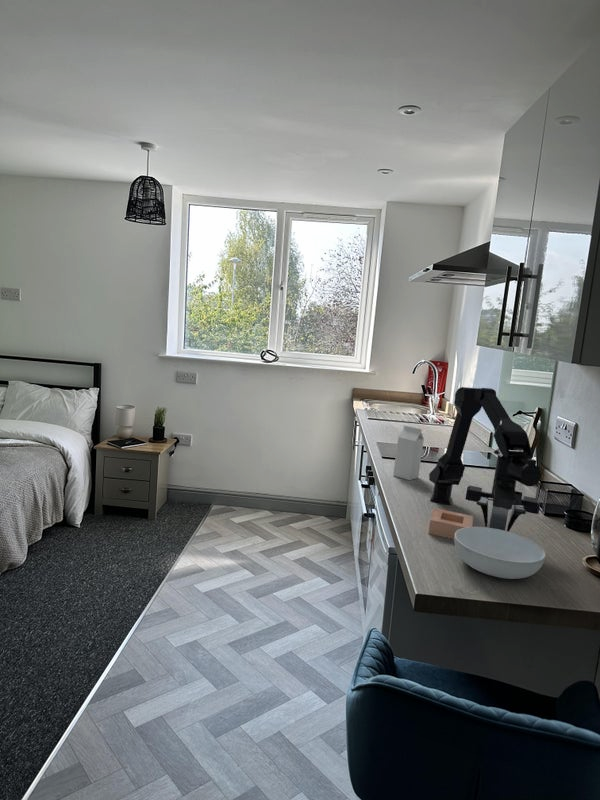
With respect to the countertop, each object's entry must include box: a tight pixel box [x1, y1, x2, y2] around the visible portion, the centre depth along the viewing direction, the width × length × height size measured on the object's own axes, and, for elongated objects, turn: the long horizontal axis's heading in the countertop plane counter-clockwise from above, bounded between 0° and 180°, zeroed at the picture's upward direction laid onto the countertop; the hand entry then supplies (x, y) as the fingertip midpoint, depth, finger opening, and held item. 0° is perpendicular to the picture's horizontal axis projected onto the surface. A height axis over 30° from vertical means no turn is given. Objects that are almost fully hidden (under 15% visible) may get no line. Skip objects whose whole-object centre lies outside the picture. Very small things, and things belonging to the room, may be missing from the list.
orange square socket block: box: [428, 507, 474, 540], centre depth 155 cm, size 11×11×4 cm
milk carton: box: [392, 425, 425, 481], centre depth 205 cm, size 7×7×19 cm
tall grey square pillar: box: [488, 505, 510, 531], centre depth 150 cm, size 4×4×10 cm
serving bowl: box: [453, 526, 547, 580], centre depth 133 cm, size 21×21×7 cm
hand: (496, 529), depth 151 cm, fingers open, 5 cm apart
